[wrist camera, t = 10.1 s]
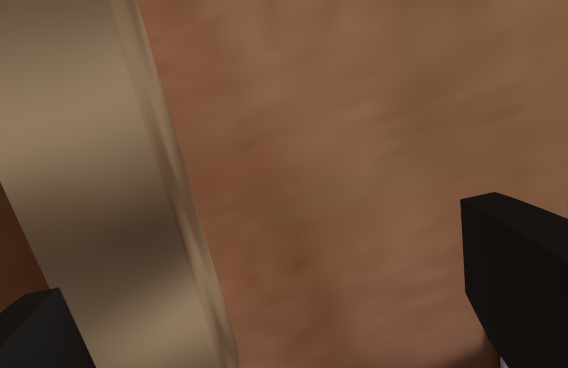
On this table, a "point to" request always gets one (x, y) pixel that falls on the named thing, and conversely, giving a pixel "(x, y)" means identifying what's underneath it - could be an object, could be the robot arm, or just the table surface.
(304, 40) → the table surface
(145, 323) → the walnut rail
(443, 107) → the table surface
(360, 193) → the table surface
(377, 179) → the table surface
